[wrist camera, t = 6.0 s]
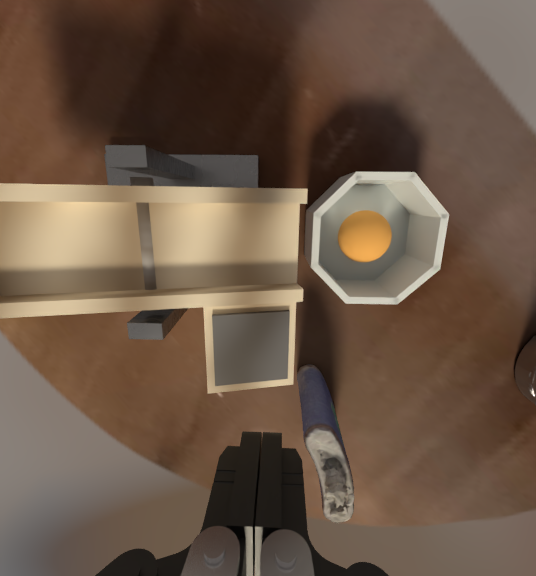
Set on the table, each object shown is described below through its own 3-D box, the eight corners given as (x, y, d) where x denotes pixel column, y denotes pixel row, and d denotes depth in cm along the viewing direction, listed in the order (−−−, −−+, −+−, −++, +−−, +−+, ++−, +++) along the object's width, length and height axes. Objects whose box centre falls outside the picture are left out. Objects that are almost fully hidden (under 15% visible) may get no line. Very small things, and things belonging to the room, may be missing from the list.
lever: (295, 181, 19) (311, 178, 16) (289, 376, 23) (301, 401, 20) (-41, 174, 16) (-96, 168, 13) (16, 403, 20) (-16, 439, 17)
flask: (293, 365, 30) (303, 452, 20) (323, 359, 30) (348, 443, 20) (313, 441, 33) (331, 554, 22) (341, 436, 32) (372, 547, 22)
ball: (407, 210, 23) (363, 211, 21) (400, 264, 24) (358, 268, 22) (368, 209, 26) (329, 209, 24) (364, 256, 27) (326, 259, 26)
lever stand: (258, 157, 25) (246, 128, 15) (258, 298, 28) (248, 353, 18) (112, 156, 25) (1, 126, 15) (128, 296, 29) (47, 349, 18)
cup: (418, 177, 25) (456, 172, 20) (404, 285, 28) (434, 305, 22) (307, 176, 25) (315, 170, 20) (302, 283, 28) (309, 303, 23)
